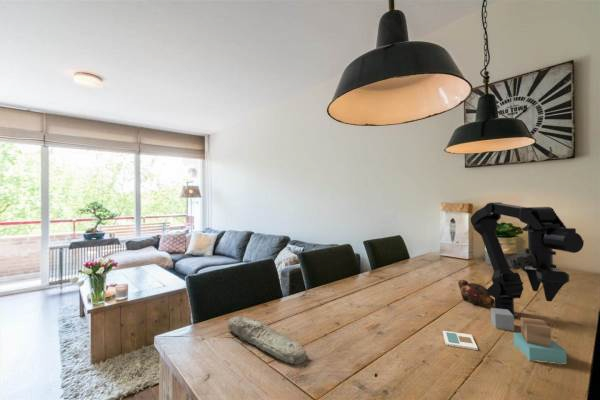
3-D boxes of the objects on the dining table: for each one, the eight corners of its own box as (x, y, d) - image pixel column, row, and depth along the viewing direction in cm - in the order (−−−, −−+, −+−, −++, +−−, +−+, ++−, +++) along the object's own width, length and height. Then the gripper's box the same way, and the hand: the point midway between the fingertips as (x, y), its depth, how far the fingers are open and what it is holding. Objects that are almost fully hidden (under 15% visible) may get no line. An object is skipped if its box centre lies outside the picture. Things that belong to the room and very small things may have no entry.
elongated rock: (290, 378, 69) (314, 362, 76) (291, 358, 69) (315, 344, 76) (219, 329, 92) (243, 320, 100) (220, 314, 92) (243, 306, 100)
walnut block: (521, 334, 77) (520, 317, 77) (543, 337, 74) (543, 320, 74) (527, 343, 72) (526, 324, 72) (551, 347, 70) (550, 328, 70)
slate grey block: (491, 322, 92) (490, 307, 92) (508, 324, 91) (508, 309, 91) (495, 328, 88) (495, 313, 88) (514, 331, 86) (513, 315, 86)
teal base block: (514, 345, 78) (513, 332, 78) (546, 349, 76) (546, 335, 76) (529, 362, 70) (529, 347, 70) (566, 366, 68) (566, 350, 68)
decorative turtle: (465, 294, 119) (466, 276, 118) (501, 309, 105) (502, 289, 104) (449, 296, 115) (450, 278, 115) (484, 312, 101) (486, 292, 101)
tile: (442, 332, 86) (442, 330, 86) (471, 336, 83) (471, 334, 83) (446, 345, 79) (446, 342, 79) (477, 350, 76) (477, 347, 76)
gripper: (499, 241, 95) (501, 284, 95) (520, 251, 78) (521, 303, 78) (538, 242, 91) (540, 287, 91) (569, 252, 74) (571, 308, 74)
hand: (541, 295), depth 84 cm, fingers open, 9 cm apart
